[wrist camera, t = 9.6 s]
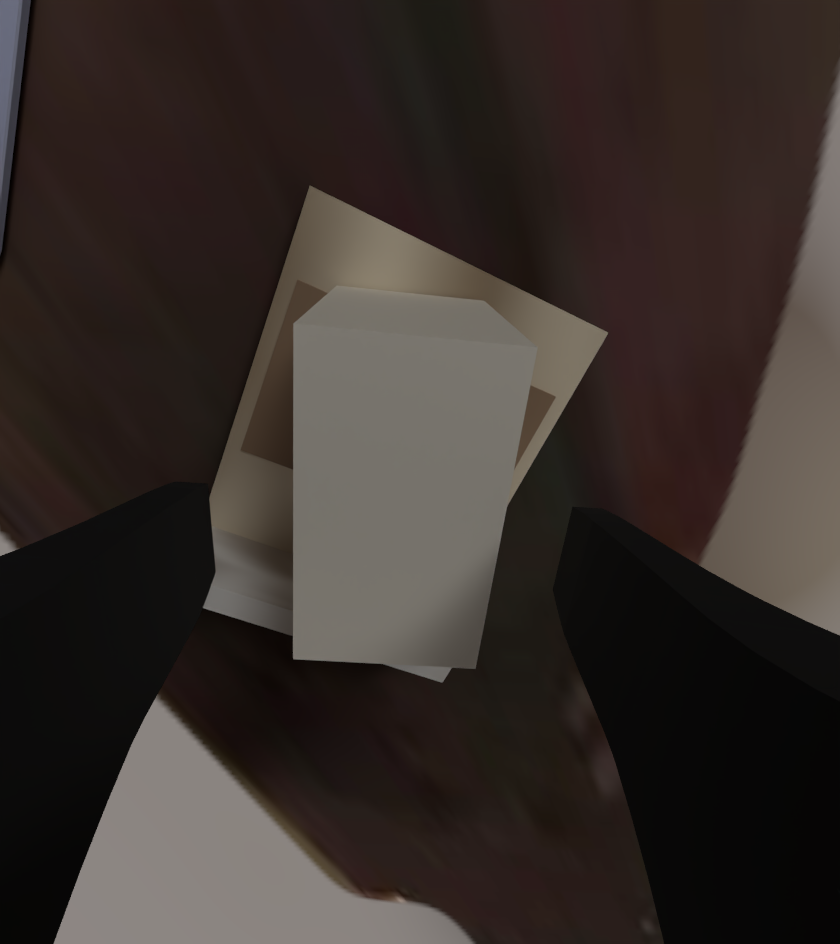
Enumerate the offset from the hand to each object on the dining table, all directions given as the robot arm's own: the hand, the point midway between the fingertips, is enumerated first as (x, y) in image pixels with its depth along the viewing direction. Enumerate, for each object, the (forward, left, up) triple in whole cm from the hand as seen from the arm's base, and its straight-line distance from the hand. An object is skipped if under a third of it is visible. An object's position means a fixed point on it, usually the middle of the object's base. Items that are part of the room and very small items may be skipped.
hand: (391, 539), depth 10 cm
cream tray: (0, -1, -9) cm, 9 cm away
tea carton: (0, 0, -8) cm, 8 cm away
